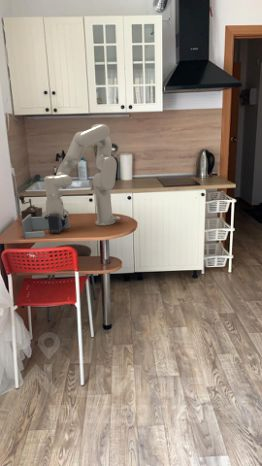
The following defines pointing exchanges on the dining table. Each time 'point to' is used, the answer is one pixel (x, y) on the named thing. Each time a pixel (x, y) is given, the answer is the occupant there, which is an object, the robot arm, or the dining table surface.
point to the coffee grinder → (30, 209)
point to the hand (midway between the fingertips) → (57, 226)
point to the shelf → (37, 226)
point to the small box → (55, 223)
